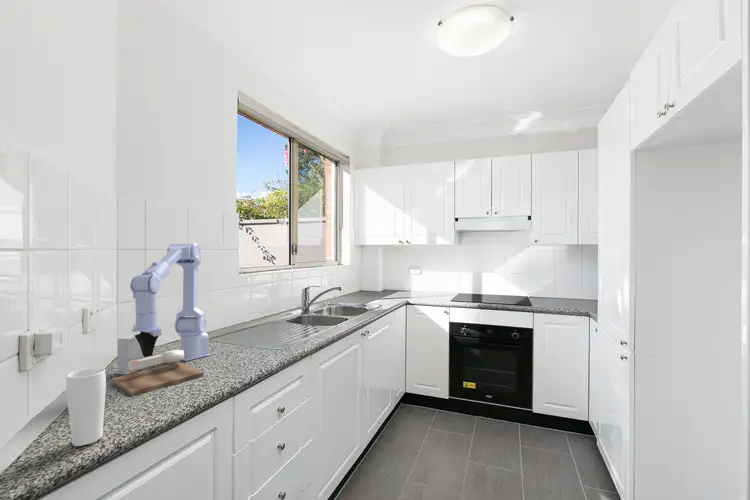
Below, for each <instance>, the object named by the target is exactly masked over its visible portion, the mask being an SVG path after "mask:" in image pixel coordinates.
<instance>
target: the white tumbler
mask: <svg viewBox="0 0 750 500" xmlns="http://www.w3.org/2000/svg"><path fill="white" fill-rule="evenodd" d="M106 374H107V373H106V369H105V368H104V367H90V368H84V369H79V370H77V371H73V372H70V373H69V374H67V375H66V380H65V381H66V383H65V388H66V391H65V392H66V402H67V410H68V416H69V417H68V418H69V423H70V425H69V426H70V432H71V444H72V446H74V447H76V446H82V445H86V444H89V443H92V442H95V441H97V440H98V439H100V438H101V437H102V436H103V437H104V418H105V404H106V392H107V375H106ZM103 437H102V438H103ZM102 438H101V439H102ZM101 439H100V440H101ZM97 442H98V441H97Z"/></svg>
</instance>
